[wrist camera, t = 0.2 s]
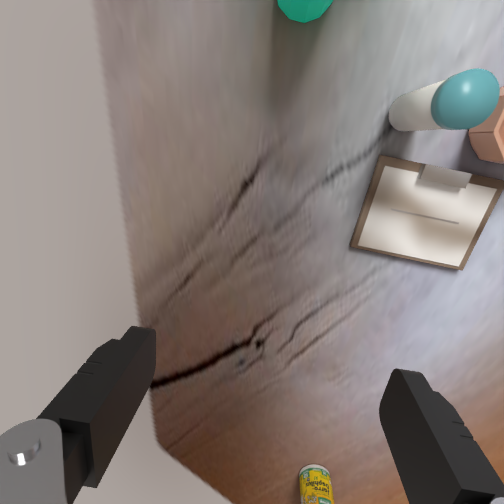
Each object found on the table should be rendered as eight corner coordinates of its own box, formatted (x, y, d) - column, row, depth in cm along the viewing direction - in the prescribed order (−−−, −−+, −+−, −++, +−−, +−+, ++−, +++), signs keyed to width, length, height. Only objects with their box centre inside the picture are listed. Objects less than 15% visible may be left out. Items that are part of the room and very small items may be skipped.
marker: (392, 90, 31) (454, 63, 20) (427, 97, 31) (510, 74, 20) (379, 128, 33) (431, 123, 22) (413, 135, 33) (483, 134, 22)
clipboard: (379, 154, 34) (384, 155, 32) (502, 180, 34) (513, 182, 32) (349, 244, 38) (352, 249, 36) (458, 267, 38) (467, 273, 36)
